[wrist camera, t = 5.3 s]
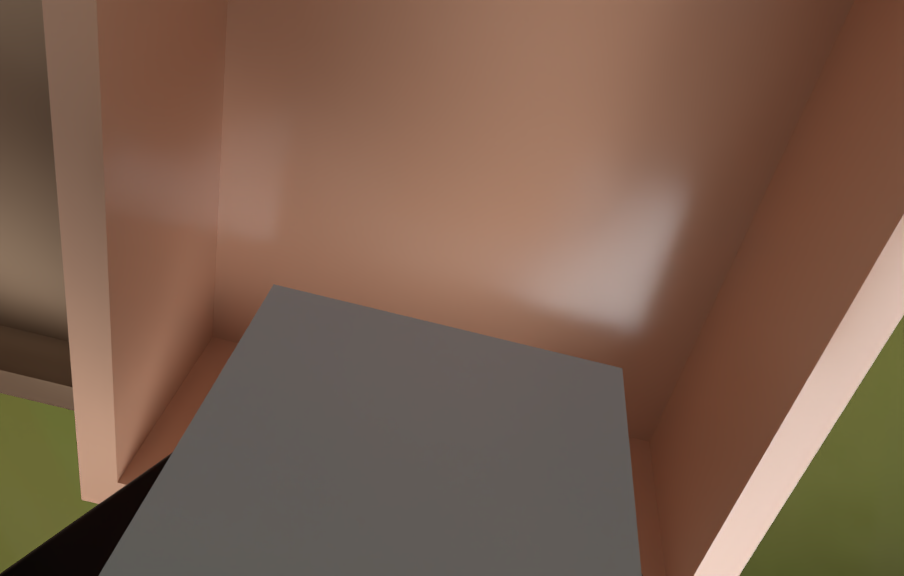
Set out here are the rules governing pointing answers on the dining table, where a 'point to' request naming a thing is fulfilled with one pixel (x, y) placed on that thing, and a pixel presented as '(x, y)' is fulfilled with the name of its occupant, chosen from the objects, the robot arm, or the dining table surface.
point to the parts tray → (29, 219)
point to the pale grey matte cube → (391, 457)
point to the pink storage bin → (496, 212)
